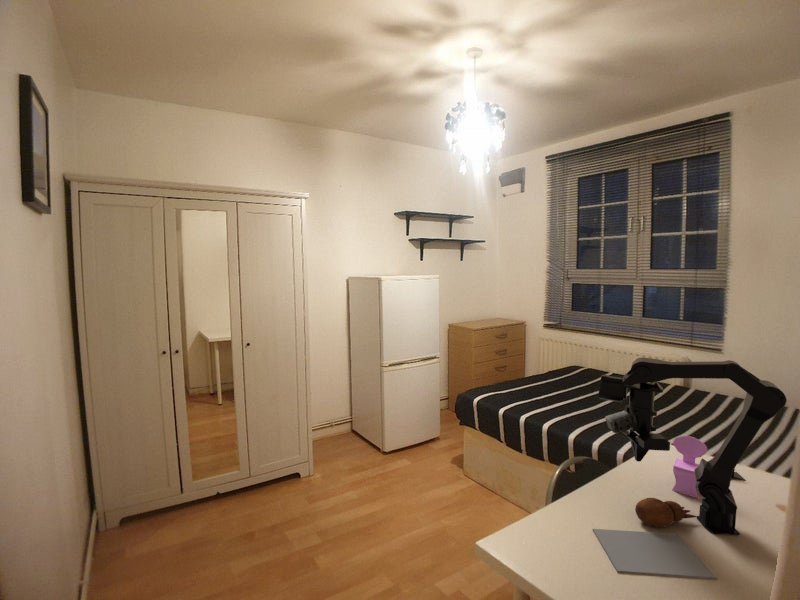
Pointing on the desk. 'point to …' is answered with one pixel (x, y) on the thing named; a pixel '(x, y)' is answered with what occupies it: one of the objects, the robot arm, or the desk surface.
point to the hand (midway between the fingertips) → (637, 460)
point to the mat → (651, 554)
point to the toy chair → (687, 464)
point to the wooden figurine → (660, 512)
